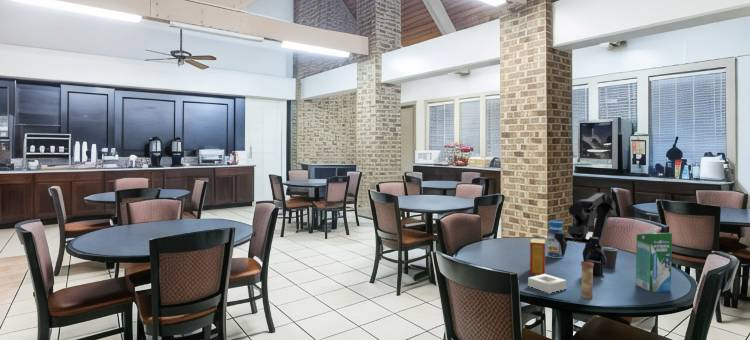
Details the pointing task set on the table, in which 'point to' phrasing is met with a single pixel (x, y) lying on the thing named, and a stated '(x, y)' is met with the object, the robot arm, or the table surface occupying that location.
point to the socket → (547, 283)
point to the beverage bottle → (554, 240)
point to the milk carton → (654, 261)
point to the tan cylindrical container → (587, 279)
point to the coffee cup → (610, 256)
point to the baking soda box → (537, 256)
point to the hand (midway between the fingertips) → (573, 258)
